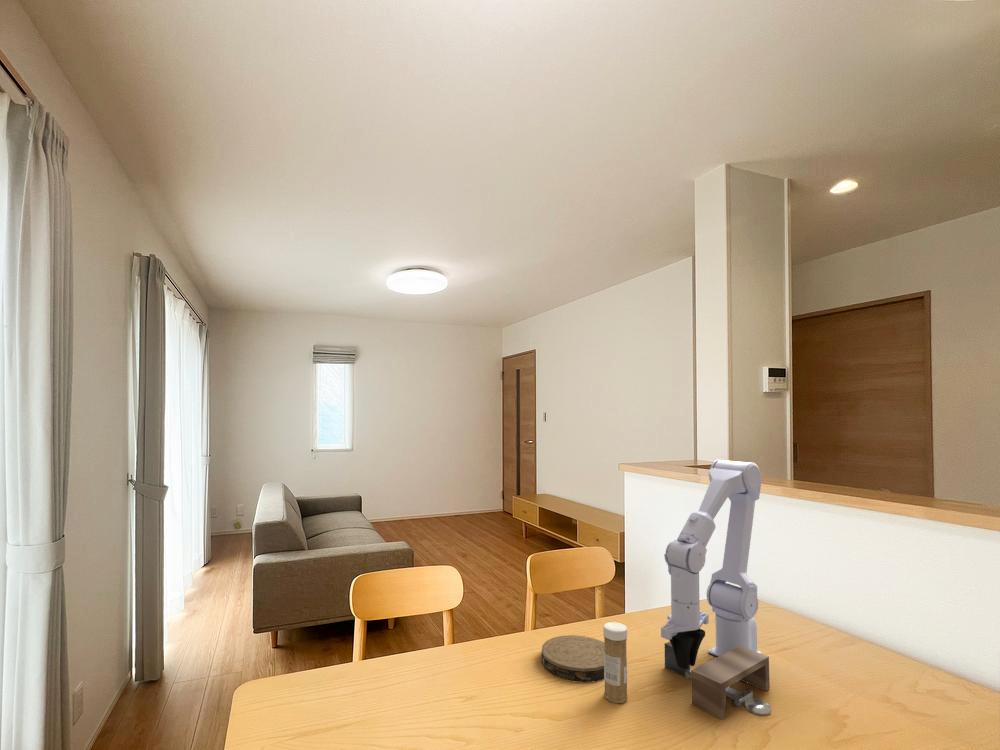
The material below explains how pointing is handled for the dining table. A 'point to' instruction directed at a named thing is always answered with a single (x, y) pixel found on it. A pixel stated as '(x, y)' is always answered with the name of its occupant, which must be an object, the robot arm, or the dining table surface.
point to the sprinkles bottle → (615, 662)
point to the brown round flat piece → (574, 658)
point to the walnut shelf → (727, 678)
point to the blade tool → (672, 665)
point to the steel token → (757, 706)
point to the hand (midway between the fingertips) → (686, 665)
